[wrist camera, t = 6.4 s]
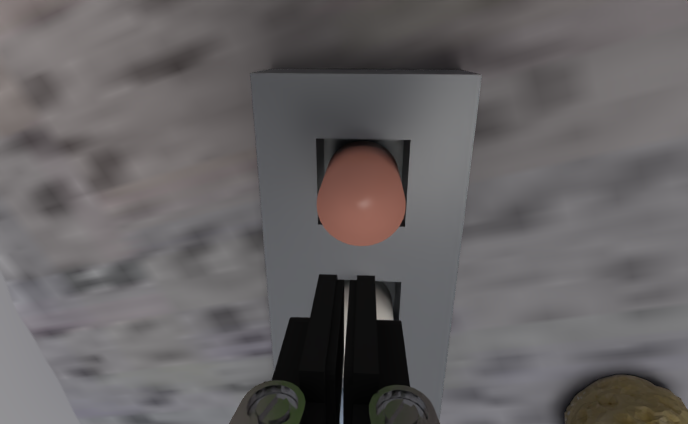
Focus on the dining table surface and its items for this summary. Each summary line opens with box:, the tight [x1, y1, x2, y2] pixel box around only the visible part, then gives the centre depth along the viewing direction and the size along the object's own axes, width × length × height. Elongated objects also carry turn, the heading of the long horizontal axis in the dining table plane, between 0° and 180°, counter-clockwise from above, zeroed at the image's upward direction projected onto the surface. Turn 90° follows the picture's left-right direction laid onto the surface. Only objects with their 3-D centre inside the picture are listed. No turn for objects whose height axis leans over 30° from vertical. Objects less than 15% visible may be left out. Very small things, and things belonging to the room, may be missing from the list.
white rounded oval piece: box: [343, 280, 394, 373], centre depth 26 cm, size 4×4×5 cm
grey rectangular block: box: [250, 69, 482, 420], centre depth 29 cm, size 30×12×5 cm, turn 0°
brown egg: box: [317, 141, 406, 246], centre depth 22 cm, size 4×4×5 cm
